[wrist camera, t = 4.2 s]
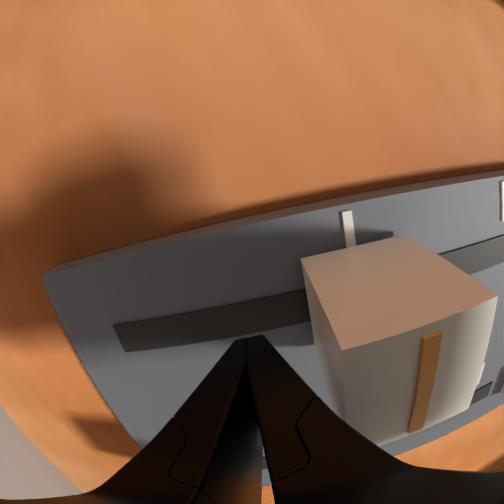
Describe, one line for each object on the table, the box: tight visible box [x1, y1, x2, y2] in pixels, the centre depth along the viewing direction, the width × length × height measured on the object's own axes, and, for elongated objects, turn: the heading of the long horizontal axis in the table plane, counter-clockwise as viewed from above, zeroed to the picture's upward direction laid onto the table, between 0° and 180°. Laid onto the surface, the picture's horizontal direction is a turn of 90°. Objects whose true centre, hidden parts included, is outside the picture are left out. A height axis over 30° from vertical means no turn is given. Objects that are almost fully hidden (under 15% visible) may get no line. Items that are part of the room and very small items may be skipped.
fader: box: [300, 234, 498, 446], centre depth 7 cm, size 4×4×5 cm
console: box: [41, 169, 504, 486], centre depth 11 cm, size 15×22×2 cm
